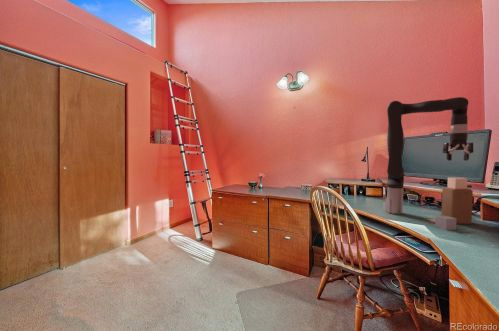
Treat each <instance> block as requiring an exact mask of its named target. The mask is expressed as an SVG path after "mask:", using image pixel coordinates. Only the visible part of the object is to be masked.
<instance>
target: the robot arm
mask: <svg viewBox="0 0 499 331" xmlns="http://www.w3.org/2000/svg"><path fill="white" fill-rule="evenodd" d="M468 106H469V100H468V98H466V97H462V96H461V97H459V96H458V97H457V96H456V97H451V98H447V99H434V100H426V101H420V102H416V103H402V102H401V101H399V100H393V101H391V102H390V103H389V104H388V105H387V107H386V112H387V113H386V114H387V121H388V124H387V153H388V162H387V163H388V164H387V169H386V173H387V182H386V183H387V184H386V185H387V186H386V197H385V210H384V211H385V212H386V213H388V214H394V215H402V214H403V213H404V181H405V169H404V167H403V161H402V160H403V159H402V156H403V152H404V143H405V141H404V140H405V135H404V129H403V124H402V117H403V116H404V115H408V114H409V115H411V114H417V113H437V112H444V111H451V119H450V129H449V142H444V143H443V147H442V153H443V154H446V160H447V161H448V162H449V161H452V159H453V158H452V157H453V156H452V154H453V152H454V151H461V152H463V161H469V159H470V154H473V153H474V142H467V141H468V134H469V133H468V131H469V128H468V108H469V107H468Z"/></svg>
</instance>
